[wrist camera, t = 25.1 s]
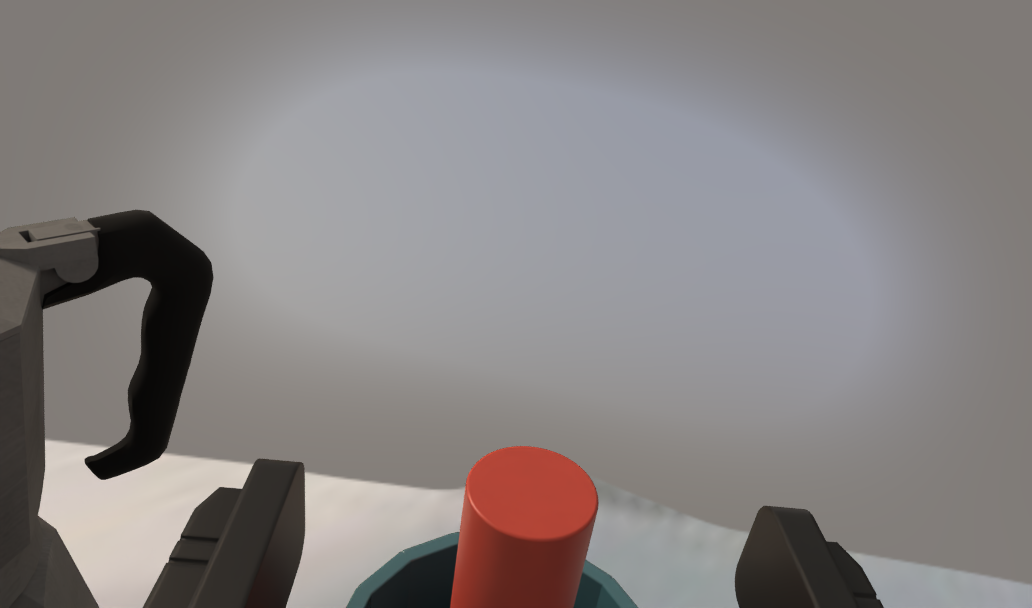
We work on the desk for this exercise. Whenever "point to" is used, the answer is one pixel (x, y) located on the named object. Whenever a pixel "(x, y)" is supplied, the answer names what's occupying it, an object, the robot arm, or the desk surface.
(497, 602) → the red cylindrical rod
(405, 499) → the desk surface
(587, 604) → the cup
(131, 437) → the coffeepot
